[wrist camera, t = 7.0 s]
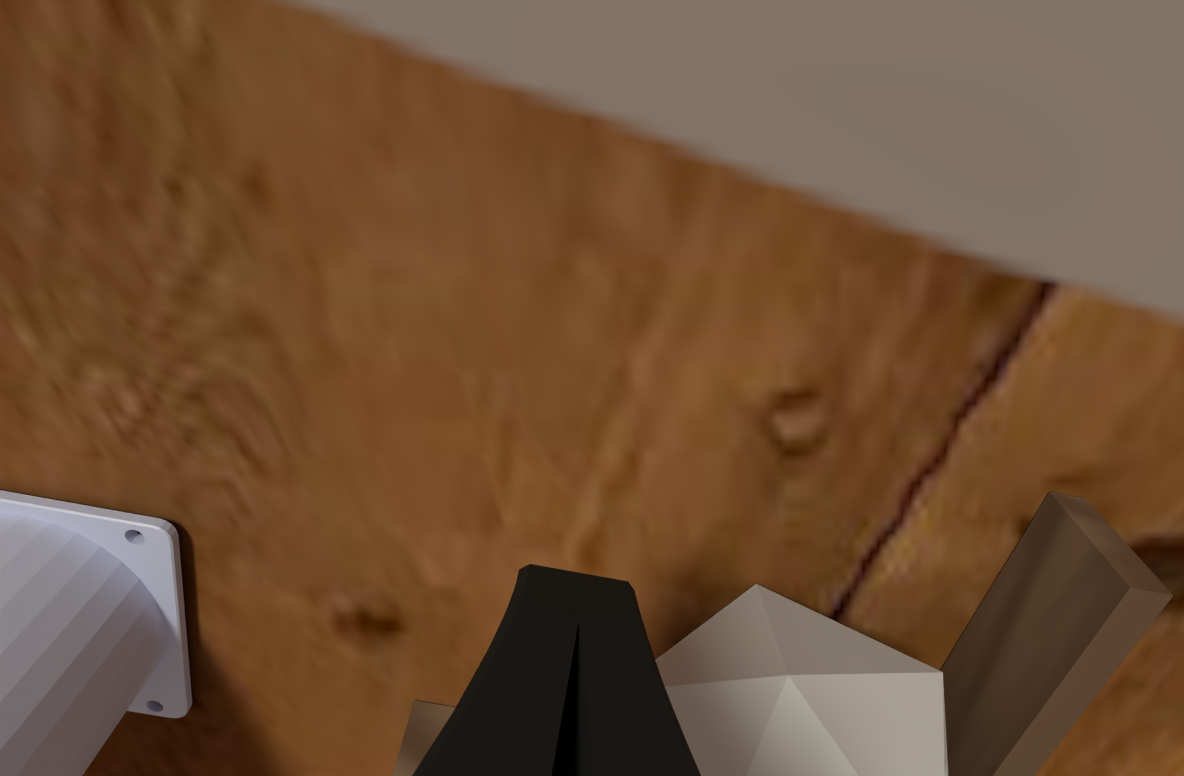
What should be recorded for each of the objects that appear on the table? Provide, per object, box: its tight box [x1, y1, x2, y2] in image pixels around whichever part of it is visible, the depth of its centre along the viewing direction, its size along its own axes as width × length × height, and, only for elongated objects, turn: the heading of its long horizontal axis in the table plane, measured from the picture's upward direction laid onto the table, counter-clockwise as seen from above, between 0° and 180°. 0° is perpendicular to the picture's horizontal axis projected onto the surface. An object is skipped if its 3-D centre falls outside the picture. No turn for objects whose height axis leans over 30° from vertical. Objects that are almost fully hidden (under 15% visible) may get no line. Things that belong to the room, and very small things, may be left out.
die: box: [655, 584, 948, 776], centre depth 19 cm, size 8×9×10 cm
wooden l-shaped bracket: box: [392, 492, 1173, 776], centre depth 20 cm, size 17×14×4 cm
